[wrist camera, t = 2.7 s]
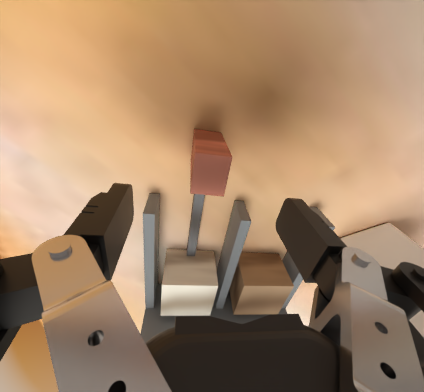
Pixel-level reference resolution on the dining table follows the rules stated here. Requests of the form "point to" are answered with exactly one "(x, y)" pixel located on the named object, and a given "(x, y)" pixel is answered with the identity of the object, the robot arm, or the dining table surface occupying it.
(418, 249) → the milk carton
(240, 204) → the lane rack
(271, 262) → the walnut block
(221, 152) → the corded block
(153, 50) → the dining table surface
